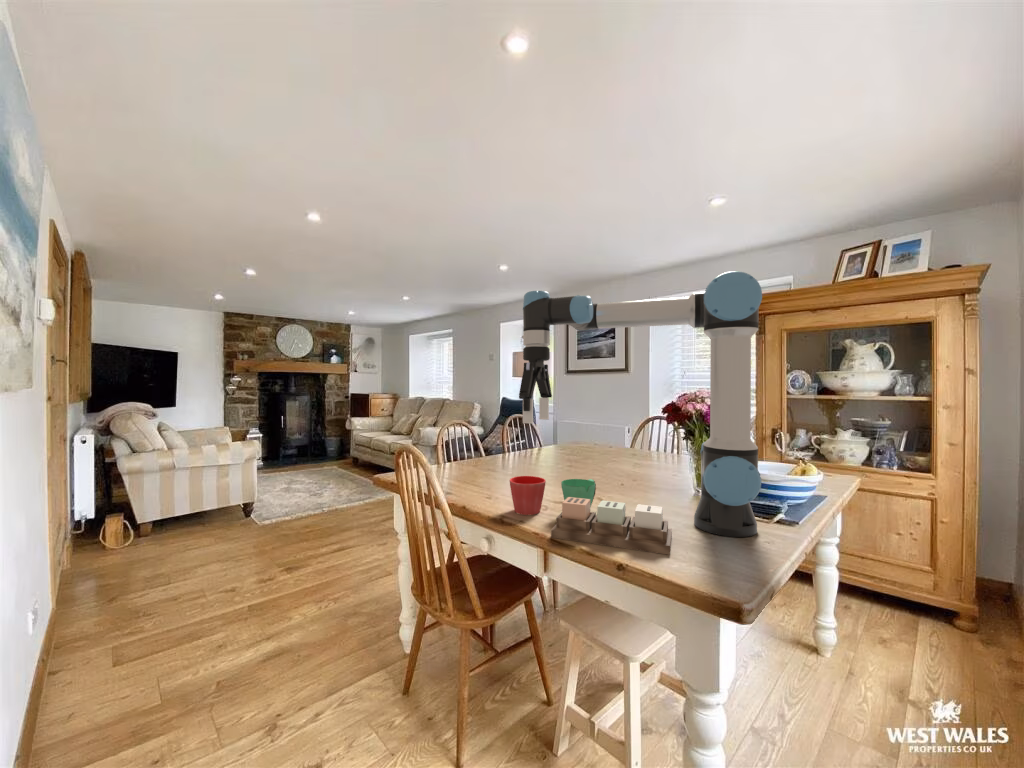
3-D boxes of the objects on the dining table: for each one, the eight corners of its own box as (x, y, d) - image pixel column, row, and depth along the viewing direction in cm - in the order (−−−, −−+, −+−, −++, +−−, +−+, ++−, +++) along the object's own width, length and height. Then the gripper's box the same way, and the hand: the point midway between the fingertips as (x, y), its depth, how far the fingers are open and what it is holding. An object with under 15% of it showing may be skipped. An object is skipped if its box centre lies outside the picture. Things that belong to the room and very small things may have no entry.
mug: (586, 524, 115) (586, 488, 115) (555, 518, 121) (555, 483, 121) (607, 511, 127) (607, 478, 127) (578, 506, 133) (578, 474, 133)
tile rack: (671, 537, 106) (671, 519, 106) (670, 554, 95) (670, 534, 95) (563, 522, 117) (564, 506, 117) (551, 537, 106) (551, 519, 106)
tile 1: (662, 523, 104) (662, 506, 104) (661, 530, 99) (661, 513, 99) (637, 520, 106) (637, 503, 106) (634, 527, 101) (634, 510, 101)
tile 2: (625, 518, 108) (625, 502, 108) (622, 525, 102) (622, 508, 102) (601, 515, 110) (601, 499, 110) (597, 522, 104) (597, 506, 104)
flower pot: (546, 517, 122) (546, 483, 122) (509, 517, 122) (509, 483, 122) (544, 506, 133) (544, 475, 133) (509, 506, 133) (509, 475, 133)
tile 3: (590, 514, 111) (590, 498, 111) (585, 521, 105) (585, 504, 105) (568, 511, 113) (568, 496, 113) (562, 518, 108) (562, 502, 108)
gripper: (538, 350, 133) (538, 417, 133) (506, 343, 110) (506, 424, 110) (561, 349, 130) (561, 418, 130) (533, 342, 107) (533, 425, 107)
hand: (536, 421), depth 120 cm, fingers open, 13 cm apart
